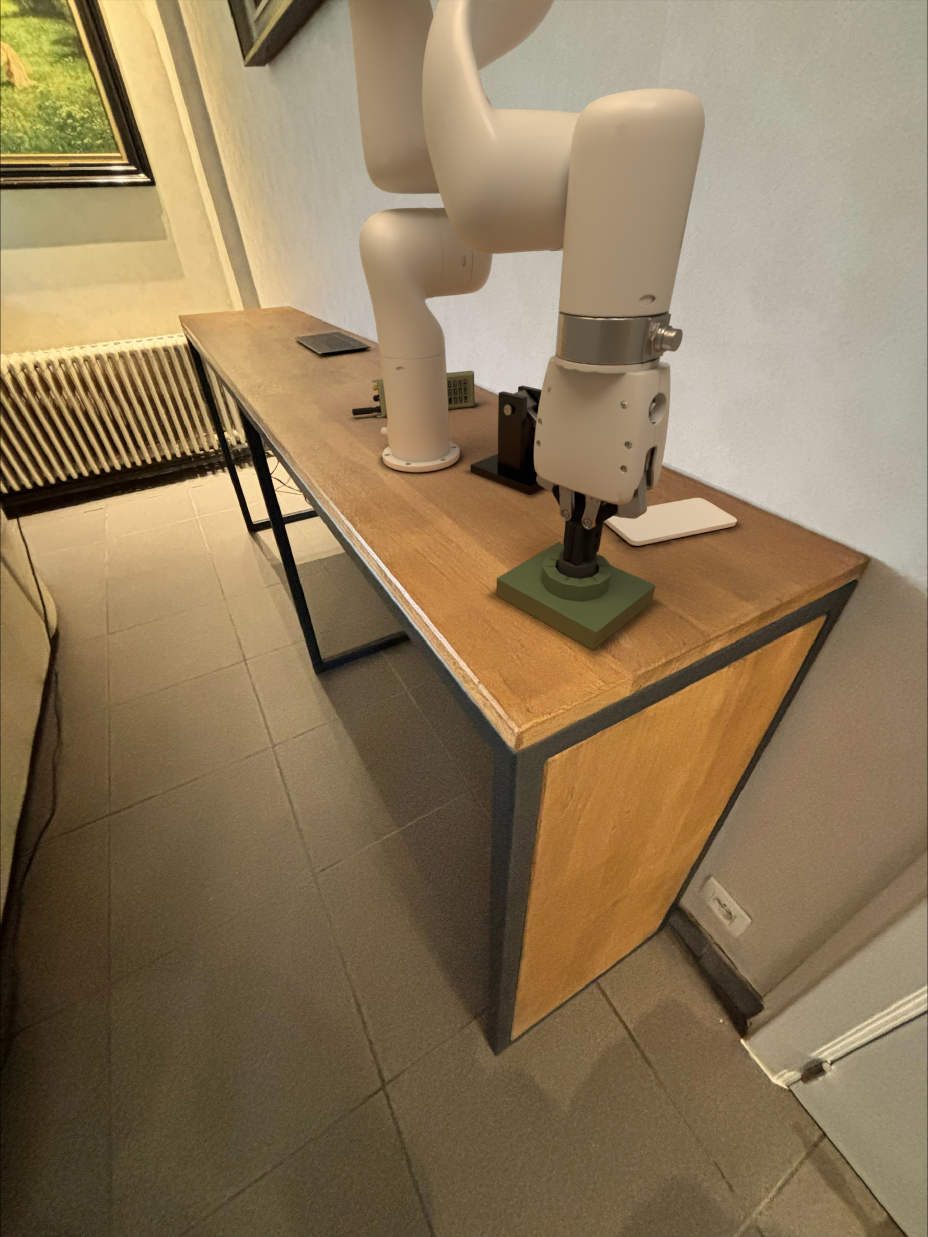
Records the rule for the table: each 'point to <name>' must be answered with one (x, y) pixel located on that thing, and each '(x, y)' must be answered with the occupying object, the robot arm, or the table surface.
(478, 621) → the table surface
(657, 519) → the smartphone
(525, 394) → the switch lever
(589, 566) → the push button
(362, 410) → the handheld radio
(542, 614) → the button box
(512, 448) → the switch bracket
